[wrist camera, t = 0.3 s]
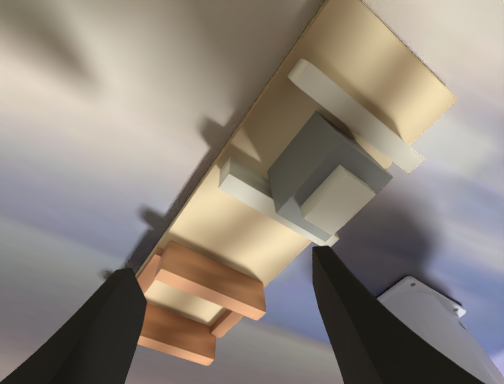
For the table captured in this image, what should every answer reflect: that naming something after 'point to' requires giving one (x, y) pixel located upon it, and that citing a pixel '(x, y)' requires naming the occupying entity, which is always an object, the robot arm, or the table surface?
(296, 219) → the plug
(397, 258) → the table surface
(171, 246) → the wooden board with blocks
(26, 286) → the table surface
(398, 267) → the table surface
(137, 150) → the table surface
